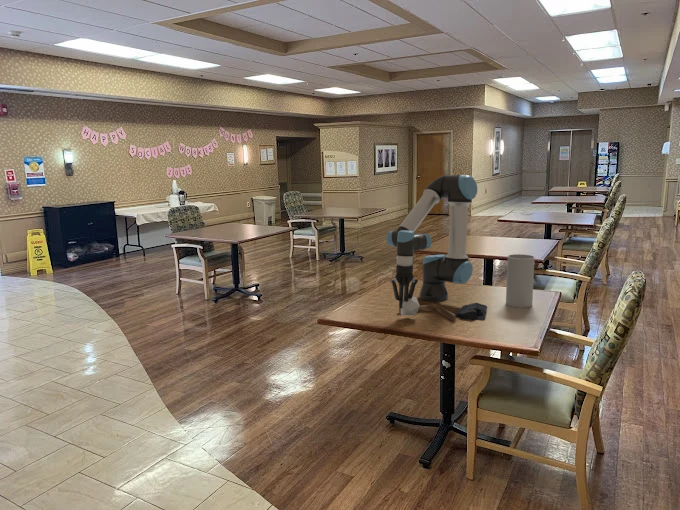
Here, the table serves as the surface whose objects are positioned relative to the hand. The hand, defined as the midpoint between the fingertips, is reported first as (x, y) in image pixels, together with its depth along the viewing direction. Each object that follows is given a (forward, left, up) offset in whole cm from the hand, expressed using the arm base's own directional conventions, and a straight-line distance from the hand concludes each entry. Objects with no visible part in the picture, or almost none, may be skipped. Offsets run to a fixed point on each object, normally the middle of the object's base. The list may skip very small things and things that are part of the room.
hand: (402, 314), depth 240 cm
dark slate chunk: (-35, +1, -3) cm, 35 cm away
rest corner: (-12, 0, -2) cm, 12 cm away
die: (-1, 0, 0) cm, 1 cm away
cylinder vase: (-64, -5, -3) cm, 64 cm away
